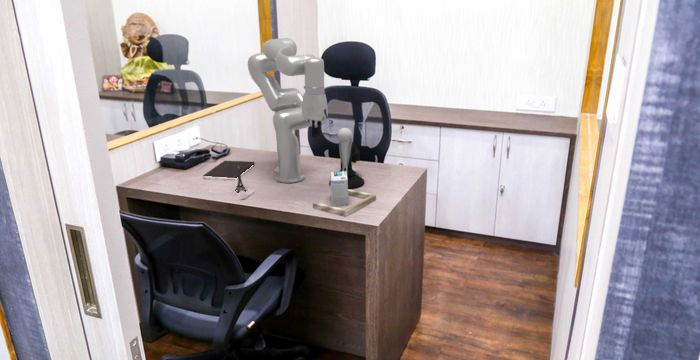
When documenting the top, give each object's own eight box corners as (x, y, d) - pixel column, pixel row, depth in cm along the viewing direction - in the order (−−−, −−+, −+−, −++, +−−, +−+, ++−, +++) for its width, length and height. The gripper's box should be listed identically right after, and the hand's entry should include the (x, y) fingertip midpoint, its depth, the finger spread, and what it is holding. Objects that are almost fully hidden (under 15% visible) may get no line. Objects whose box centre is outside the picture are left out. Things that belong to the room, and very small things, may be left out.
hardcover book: (203, 180, 239) (202, 175, 238) (224, 165, 260) (224, 160, 259) (236, 181, 236) (235, 176, 235) (254, 166, 257) (254, 161, 256)
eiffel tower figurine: (244, 201, 211) (241, 170, 207) (222, 199, 214) (218, 168, 210) (261, 189, 225) (258, 159, 220) (240, 187, 228) (237, 158, 223)
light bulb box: (330, 196, 212) (329, 171, 209) (347, 195, 213) (346, 170, 209) (331, 206, 202) (330, 180, 199) (348, 205, 203) (347, 179, 199)
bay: (312, 208, 201) (312, 203, 200) (343, 192, 216) (343, 188, 216) (346, 216, 192) (346, 211, 191) (375, 199, 207) (375, 195, 207)
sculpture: (325, 188, 221) (322, 131, 213) (338, 171, 243) (336, 118, 235) (360, 190, 218) (359, 132, 210) (370, 172, 240) (370, 119, 231)
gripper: (293, 89, 203) (295, 135, 209) (323, 94, 194) (324, 141, 201) (306, 86, 208) (308, 130, 215) (335, 91, 200) (336, 137, 206)
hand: (315, 135), depth 208 cm, fingers closed
